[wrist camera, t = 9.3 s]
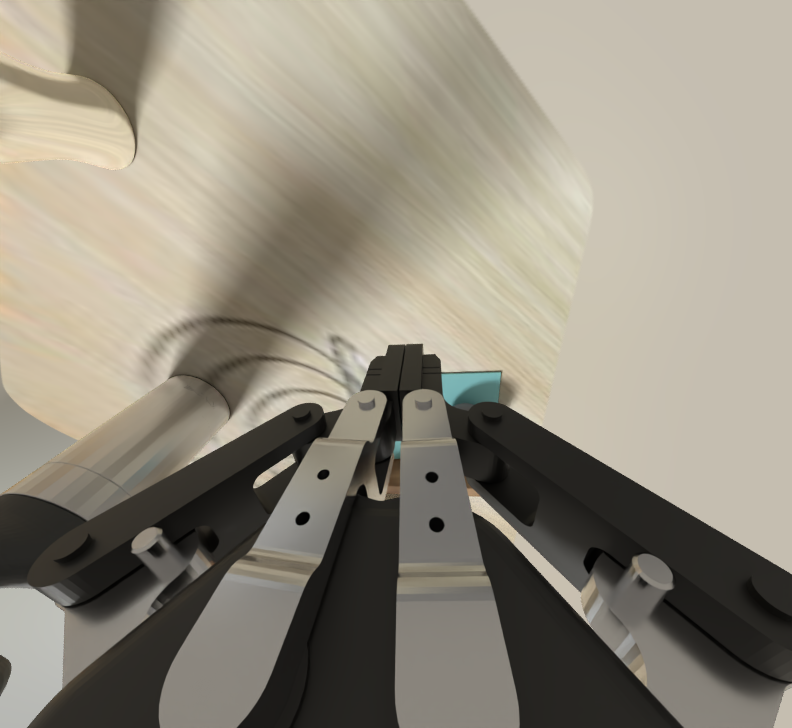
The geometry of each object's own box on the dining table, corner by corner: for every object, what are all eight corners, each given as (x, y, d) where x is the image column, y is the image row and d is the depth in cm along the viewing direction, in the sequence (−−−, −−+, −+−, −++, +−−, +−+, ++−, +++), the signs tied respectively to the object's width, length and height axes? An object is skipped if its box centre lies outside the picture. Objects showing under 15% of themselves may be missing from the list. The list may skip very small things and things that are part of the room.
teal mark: (492, 458, 38) (492, 460, 38) (391, 457, 40) (391, 458, 40) (500, 371, 31) (501, 372, 31) (377, 375, 33) (377, 376, 33)
